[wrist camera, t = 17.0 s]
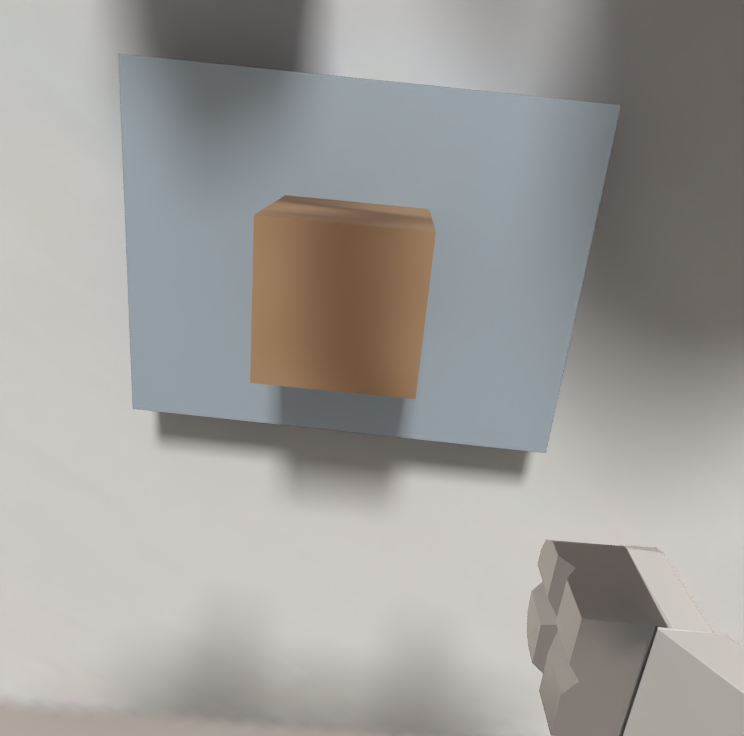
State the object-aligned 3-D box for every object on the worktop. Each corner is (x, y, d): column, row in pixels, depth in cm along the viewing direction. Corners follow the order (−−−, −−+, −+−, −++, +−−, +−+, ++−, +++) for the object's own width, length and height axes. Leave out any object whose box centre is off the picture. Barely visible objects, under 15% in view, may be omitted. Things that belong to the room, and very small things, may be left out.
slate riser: (157, 382, 31) (132, 408, 28) (149, 60, 26) (118, 53, 23) (533, 422, 31) (545, 452, 28) (597, 106, 26) (621, 104, 23)
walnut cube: (279, 332, 27) (250, 382, 22) (285, 195, 25) (254, 214, 20) (413, 345, 27) (415, 399, 21) (429, 208, 25) (435, 232, 20)
